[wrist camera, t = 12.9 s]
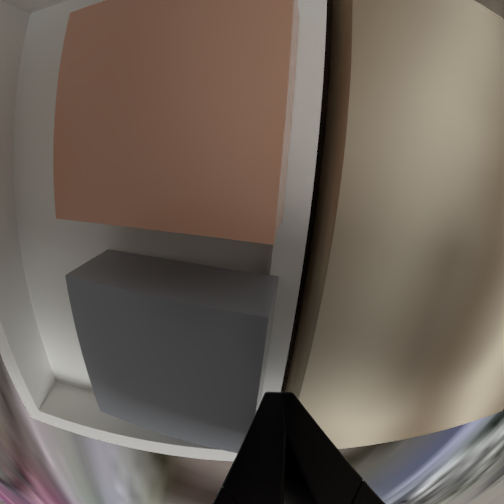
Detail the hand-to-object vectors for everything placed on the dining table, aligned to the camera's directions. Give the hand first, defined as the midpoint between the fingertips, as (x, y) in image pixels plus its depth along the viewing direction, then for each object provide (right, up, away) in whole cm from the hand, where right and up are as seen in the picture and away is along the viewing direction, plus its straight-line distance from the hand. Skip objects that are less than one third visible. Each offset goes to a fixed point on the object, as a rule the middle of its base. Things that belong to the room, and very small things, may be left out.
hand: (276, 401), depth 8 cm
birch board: (+7, +4, +2) cm, 8 cm away
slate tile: (-3, +1, +1) cm, 3 cm away
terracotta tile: (-2, +7, -1) cm, 8 cm away
